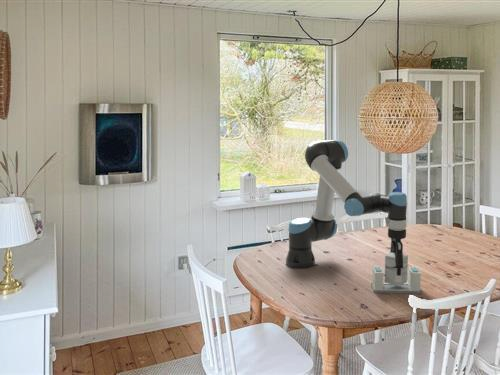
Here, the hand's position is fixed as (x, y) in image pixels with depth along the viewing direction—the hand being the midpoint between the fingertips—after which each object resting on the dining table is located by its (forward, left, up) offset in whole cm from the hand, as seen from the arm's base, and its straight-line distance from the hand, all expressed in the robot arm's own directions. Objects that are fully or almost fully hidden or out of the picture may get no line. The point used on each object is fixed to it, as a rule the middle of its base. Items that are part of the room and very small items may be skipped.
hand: (395, 277), depth 206 cm
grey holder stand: (0, 0, -6) cm, 6 cm away
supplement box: (0, 0, -2) cm, 2 cm away
